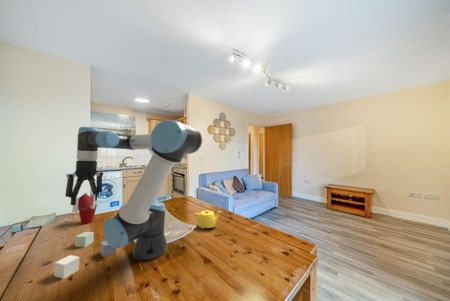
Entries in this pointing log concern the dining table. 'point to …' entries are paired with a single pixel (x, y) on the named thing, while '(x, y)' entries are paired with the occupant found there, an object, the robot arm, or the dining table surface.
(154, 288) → the dining table surface
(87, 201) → the onion
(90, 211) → the plastic cup
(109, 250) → the slate cube
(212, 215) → the teapot
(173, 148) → the robot arm
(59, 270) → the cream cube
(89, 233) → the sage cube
